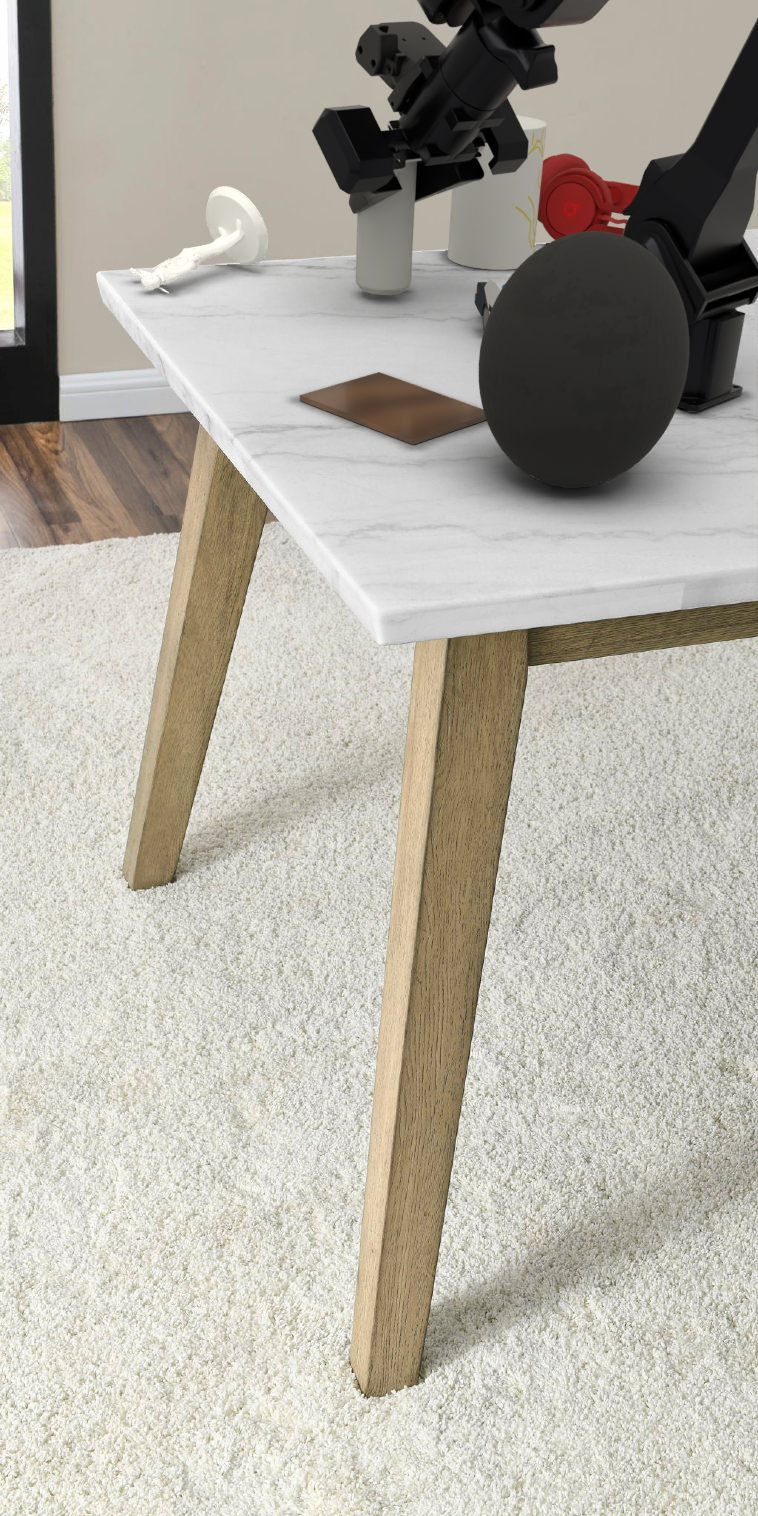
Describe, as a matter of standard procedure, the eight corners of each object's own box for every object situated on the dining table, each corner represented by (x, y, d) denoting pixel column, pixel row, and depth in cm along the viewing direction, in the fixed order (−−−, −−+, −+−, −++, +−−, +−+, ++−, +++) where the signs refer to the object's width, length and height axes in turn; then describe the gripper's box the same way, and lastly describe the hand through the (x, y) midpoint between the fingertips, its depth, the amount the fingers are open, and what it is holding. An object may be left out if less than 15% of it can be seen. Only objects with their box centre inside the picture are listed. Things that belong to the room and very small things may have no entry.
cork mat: (492, 417, 97) (493, 412, 97) (413, 445, 92) (413, 439, 92) (378, 377, 103) (379, 371, 103) (299, 400, 99) (299, 394, 98)
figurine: (245, 179, 120) (148, 243, 114) (280, 258, 124) (189, 324, 118) (194, 193, 125) (100, 255, 119) (230, 269, 129) (140, 332, 123)
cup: (536, 271, 130) (550, 131, 124) (448, 267, 130) (457, 127, 124) (530, 249, 137) (543, 115, 130) (446, 245, 137) (455, 111, 130)
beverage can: (348, 292, 120) (351, 140, 113) (365, 279, 124) (369, 131, 117) (402, 298, 119) (408, 145, 112) (418, 285, 122) (424, 136, 116)
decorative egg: (486, 435, 94) (507, 200, 86) (672, 458, 92) (712, 219, 84) (453, 506, 84) (473, 247, 76) (661, 533, 82) (704, 271, 74)
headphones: (530, 141, 144) (715, 175, 147) (514, 213, 148) (695, 244, 151) (556, 170, 131) (757, 206, 135) (538, 248, 135) (734, 281, 138)
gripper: (516, -19, 111) (420, 113, 124) (328, -13, 101) (244, 130, 114) (578, 104, 110) (473, 224, 123) (394, 123, 100) (302, 251, 113)
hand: (376, 205), depth 118 cm, fingers closed on beverage can, 5 cm apart
